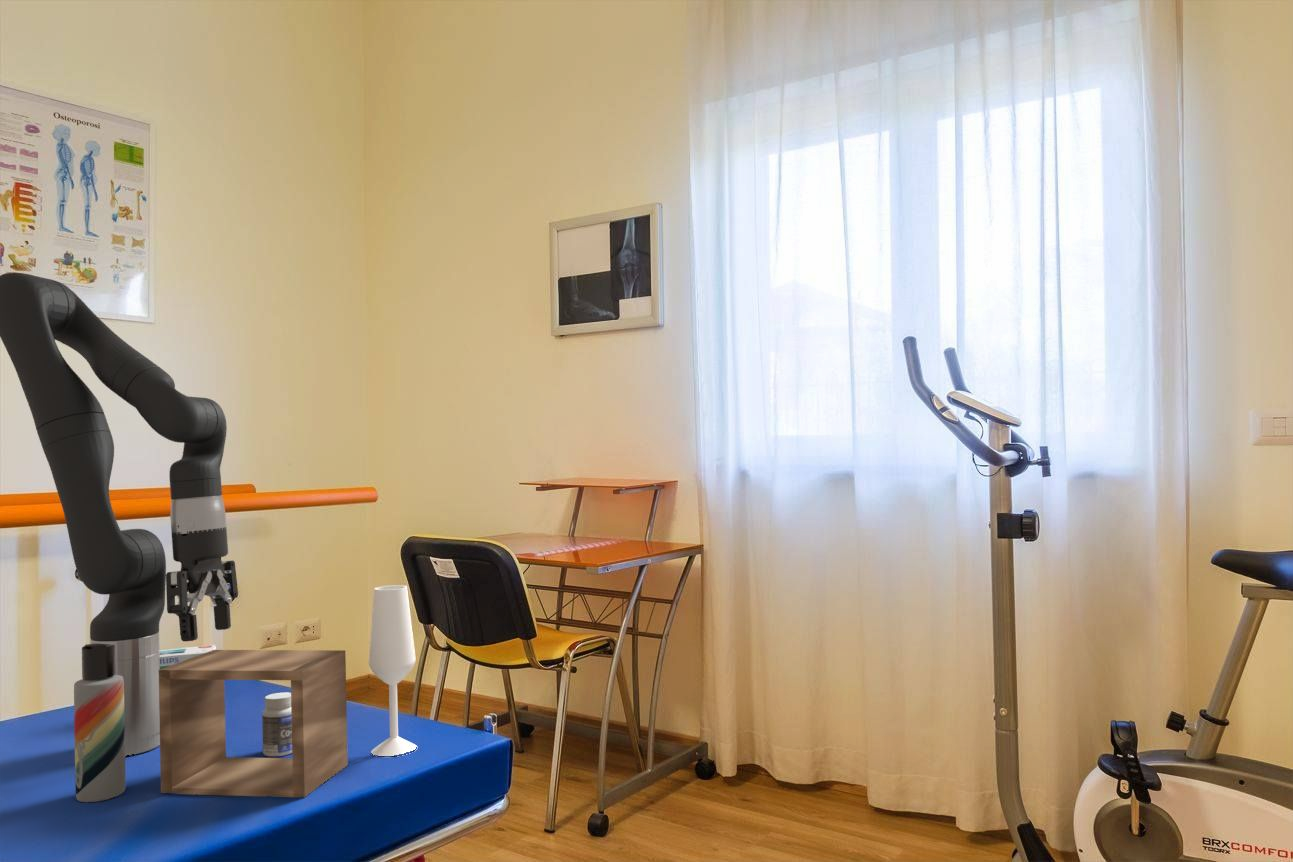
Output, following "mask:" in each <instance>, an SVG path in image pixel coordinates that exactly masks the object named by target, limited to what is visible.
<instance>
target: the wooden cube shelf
mask: <svg viewBox="0 0 1293 862" xmlns="http://www.w3.org/2000/svg"><path fill="white" fill-rule="evenodd" d="M346 659H347V658H346V650H338V649H337V650H330V649H329V650H328V649H327V650H323V649H321V650H320V649H319V650H317V649H315V650H314V649H313V650H310V649H308V650H305V649H304V650H302V649H300V650H299V649H295V650H294V649H283V650H282V649H271V650H270V649H216V650H212V651H209V652H207V653H204V654H201V655H198V656H196V657H193V658H190V659H187V660H185V661H182V662H179V663H177V664H174V665H171V666H168V667H166V668H163V669H160V670H159V713H160V745H159V751H160V752H159V754H160V755H159V756H160V757H159V758H160V759H159V760H160V761H159V765H160V770H159V771H160V794H161V793H177V794H176V795H195V796H197V795H198V796H199V795H201V796H206V795H207V796H232V797H233V796H234V797H235V796H236V797H237V796H238V797H240V796H241V797H266V796H275V797H274V798H301V797H305V798H306V797H307V795H308V794H309V793H310V794H311V792H312V791H313V790H314V791H316V790H317V789H318V788H319V787H318V786H320V785H321V784H322V785H324V784H325V783H326V782H328V781H329V780H330V779H331V777H332V776H333V777H334V776H336V775H337V774H338V773H340V772H341V771H342V770H344V769H345V768H346V767H348V766H347V765H349V761H348V758H349V757H348V756H349V755H348V752H349V751H348V713H347V712H348V711H347V705H348V704H347V668H346V667H347V665H346V664H347V663H346ZM225 680H226V681H290V693H291V715H292V753H291V754H292V757H291V758H289V757H287V758H285V757H239V756H238V757H237V756H236V757H235V756H234V757H233V756H227V750H226V749H227V745H226V744H227V742H226V738H227V737H226V733H227V732H226V693H225V692H226V691H225V690H226V689H225V684H226V683H225ZM344 767H345V768H344ZM343 768H344V769H343ZM339 771H340V772H339ZM335 774H336V775H335ZM333 777H332V778H333ZM328 779H329V780H328ZM327 780H328V781H327ZM325 781H326V782H325ZM324 782H325V783H324ZM323 783H324V784H323ZM322 785H321V786H322ZM321 786H320V787H321ZM317 787H318V788H317ZM316 788H317V789H316ZM315 789H316V790H315ZM314 791H313V792H314ZM313 792H312V793H313ZM196 794H197V795H196ZM310 794H309V795H310ZM309 795H308V796H309Z"/></svg>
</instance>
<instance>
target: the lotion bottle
mask: <svg viewBox="0 0 1293 862" xmlns="http://www.w3.org/2000/svg"><path fill="white" fill-rule="evenodd" d="M115 674H116V665H115V645H110V644H90V643H88V644H87V643H86V644H84V645H83V646H82V647H81V679H79V680H77V681H75V683H73V684H74V685H73V707H74V708H73V715H74V716H73V719H74V720H73V721H74V724H73V725H74V729H73V730H74V775H75V776H74V779H75V780H74V781H75V782H74V784H75V797H76V801H78V802H80V803H81V802H82V803H94V802H95V803H96V802H101V801H102V802H103V801H106V800H110V798H111V799H113V797H114V798H116V797H118V796H120V795H121V794H123V793H124V792H125V791H126V756H125V715H124V679H123V677H122V676H120V675H115Z"/></svg>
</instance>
